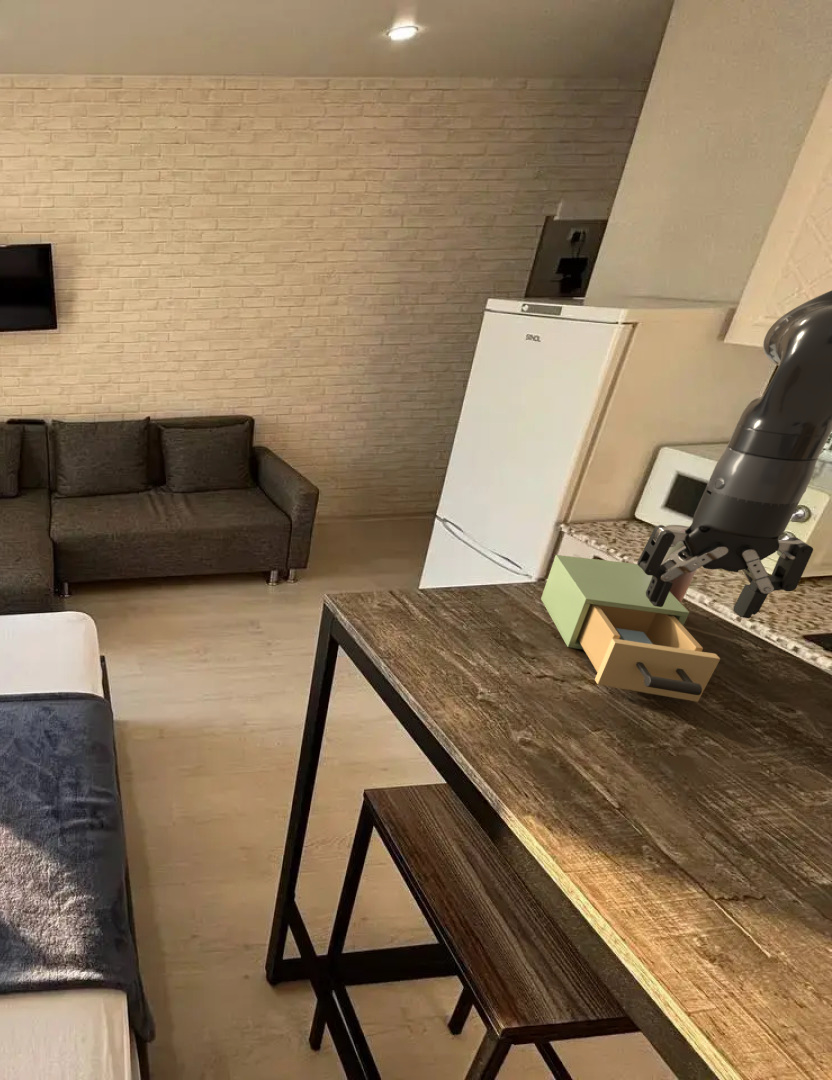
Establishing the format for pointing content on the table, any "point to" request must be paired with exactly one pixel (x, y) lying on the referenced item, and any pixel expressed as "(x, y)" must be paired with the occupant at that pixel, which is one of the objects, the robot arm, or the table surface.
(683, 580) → the beverage can
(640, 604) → the cabinet
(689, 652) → the drawer
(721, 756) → the table surface
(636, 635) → the light blue rectangular block
